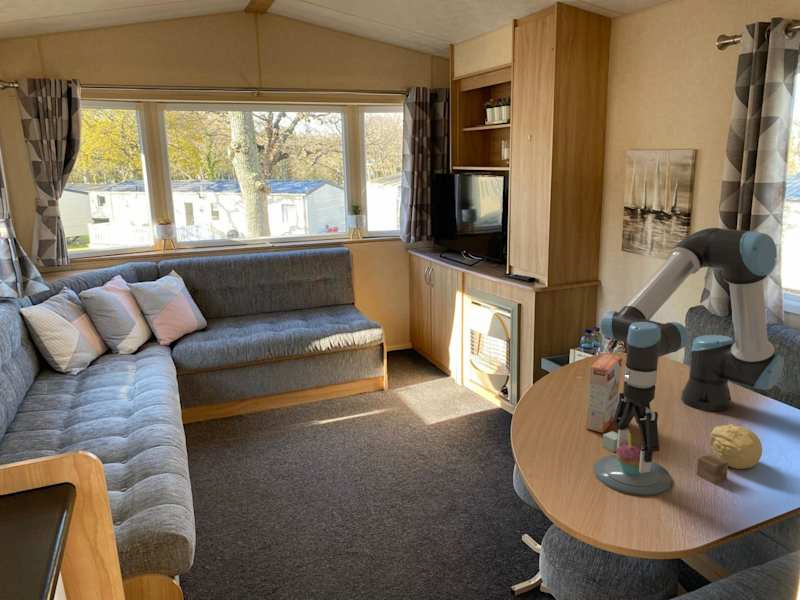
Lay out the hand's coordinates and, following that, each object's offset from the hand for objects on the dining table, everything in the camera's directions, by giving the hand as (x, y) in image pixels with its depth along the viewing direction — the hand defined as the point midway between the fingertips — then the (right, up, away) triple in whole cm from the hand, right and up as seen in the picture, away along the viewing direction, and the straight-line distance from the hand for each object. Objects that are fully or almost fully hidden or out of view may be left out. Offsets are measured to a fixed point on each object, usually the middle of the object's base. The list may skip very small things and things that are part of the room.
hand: (632, 461), depth 158 cm
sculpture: (+31, -2, +7) cm, 31 cm away
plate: (0, -4, +1) cm, 4 cm away
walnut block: (+21, -4, 0) cm, 21 cm away
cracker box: (+2, +3, +31) cm, 31 cm away
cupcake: (0, -3, +1) cm, 3 cm away
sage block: (0, 0, +16) cm, 16 cm away
